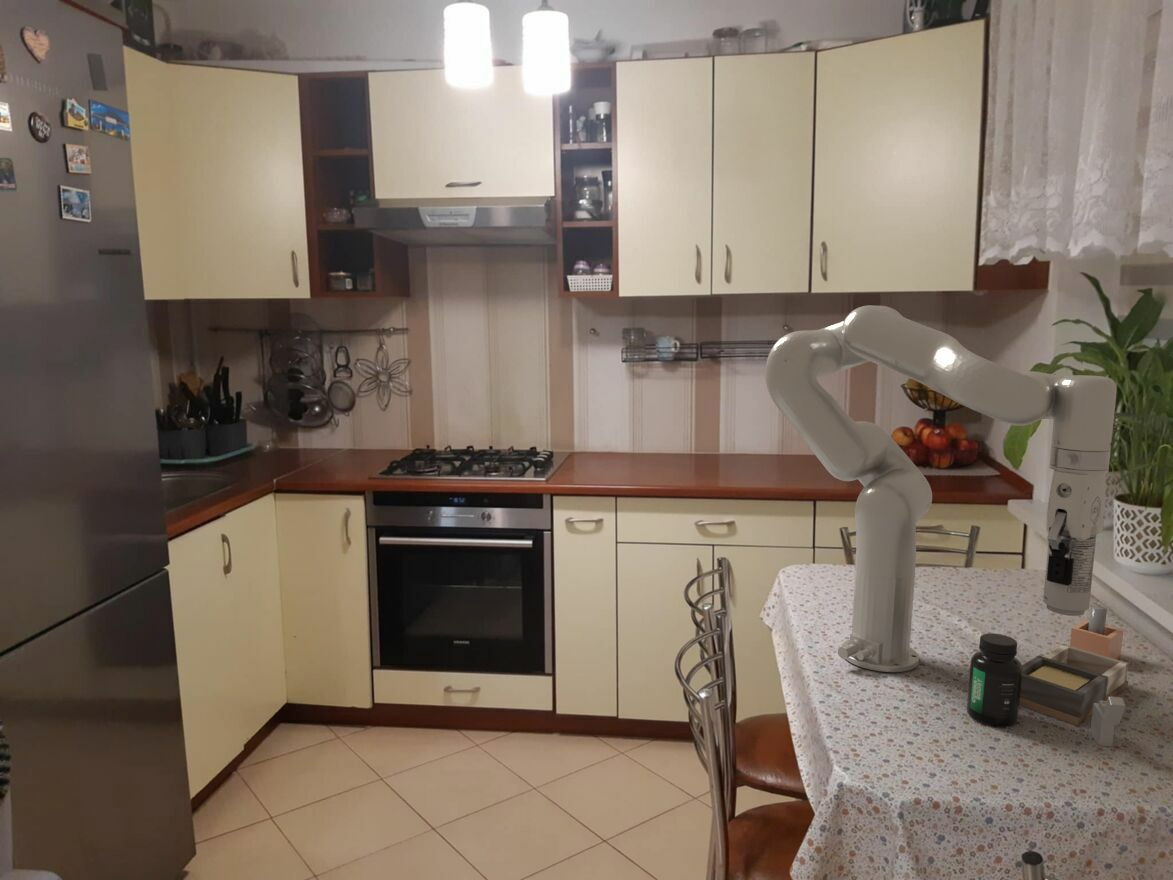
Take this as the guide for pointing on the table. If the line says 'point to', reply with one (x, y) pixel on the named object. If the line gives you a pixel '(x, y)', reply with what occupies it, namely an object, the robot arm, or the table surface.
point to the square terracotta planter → (1097, 635)
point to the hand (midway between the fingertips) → (1067, 577)
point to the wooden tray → (1065, 701)
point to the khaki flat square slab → (1060, 677)
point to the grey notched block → (1106, 719)
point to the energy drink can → (1073, 580)
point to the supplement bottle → (995, 681)
